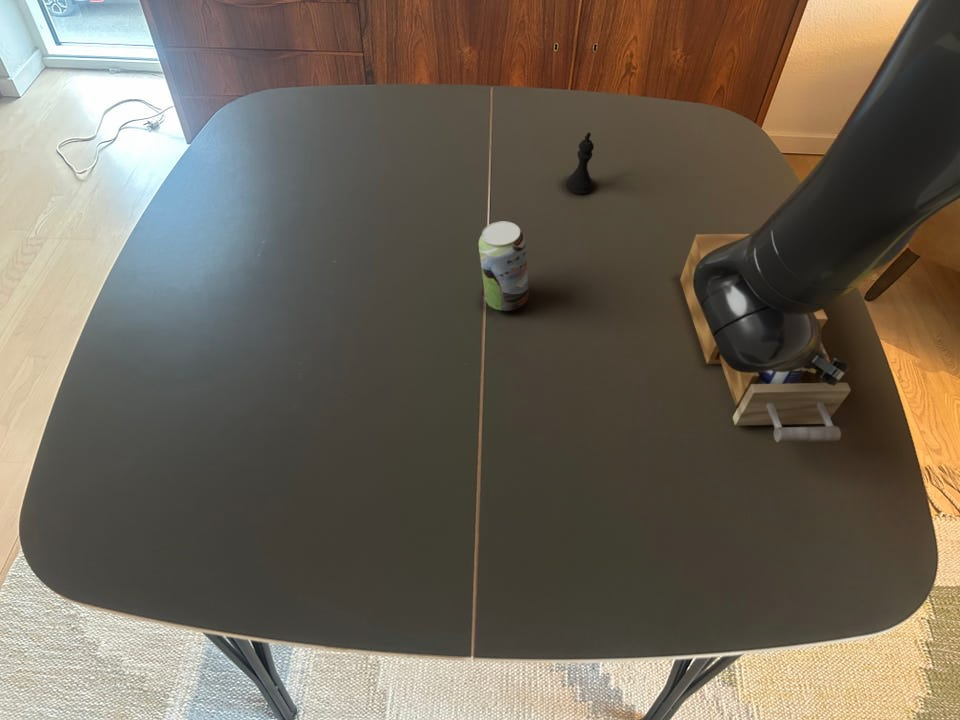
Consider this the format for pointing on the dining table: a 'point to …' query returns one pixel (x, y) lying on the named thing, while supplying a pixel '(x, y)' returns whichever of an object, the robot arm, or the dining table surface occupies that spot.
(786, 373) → the pill bottle
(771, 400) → the drawer
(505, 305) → the beverage can
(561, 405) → the dining table surface
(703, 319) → the cabinet
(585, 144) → the chess piece
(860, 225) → the robot arm
